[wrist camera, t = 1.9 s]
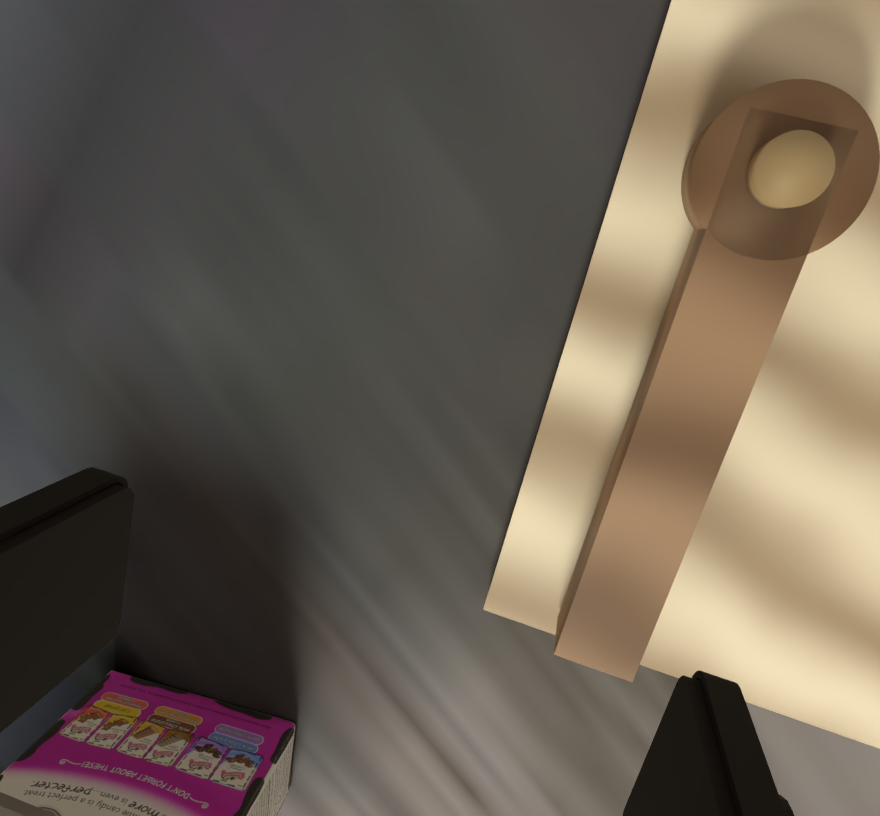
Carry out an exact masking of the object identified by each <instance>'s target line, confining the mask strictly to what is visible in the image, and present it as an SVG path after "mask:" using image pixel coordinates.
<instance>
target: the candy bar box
mask: <svg viewBox="0 0 880 816" xmlns="http://www.w3.org/2000/svg"><path fill="white" fill-rule="evenodd" d="M294 735H295V724H294V723H293V722H291V721H288V720H285V719H281V718H278V717H274V716H271V715H268V714H264V713H261V712H257V711H254V710H250V709H247V708H243V707H239V706H236V705H233V704H229V703H226V702H222V701H218V700H215V699H211V698H208V697H204V696H201V695H197V694H193V693H190V692H187V691H183V690H179V689H176V688H172V687H169V686H165V685H161V684H158V683H154V682H151V681H147V680H144V679H140V678H137V677H133V676H130V675H127V674H123V673H120V672H116V671H110V672H109V673H108V674H107V675H106V676H105V677H104V678H103V679H102V680H101V681H100V682H99V683H98V684H97V685H95V686H94V687H93V688H92V689H91V690H90V691H89V692H88V693H87V694H86V695H85V696H84V697H83V698H82V699H81V700H79V701H78V702H77V703H76V704H75V705H74V706H73V707H72V708H71V709H70V710H69V711H68V712H67V713H65V714H64V715H63V716H62V717H61V718H60V719H59V720H58V721H57V722H56V723H55V724H54V725H53V726H52V727H51V728H50V729H49V730H48V731H47V732H45V733H44V734H43V735H42V736H41V737H40V738H39V739H38V740H37V741H36V742H35V743H34V744H32V745H31V747H30V748H29V749H28V750H26V751H25V752H24V753H23V754H22V755H21V756H20V757H19V758H18V759H17V760H16V761H15V762H14V763H12V764H11V765H10V766H9V767H8V768H7V769H6V770H5V771H4V772H3V773H1V774H0V792H2V793H4V794H7V795H9V796H12V797H14V798H17V799H19V800H21V801H24V802H26V803H29V804H31V805H33V806H36V807H38V808H41V809H43V810H45V811H48V812H50V813H53V814H55V815H58V816H276V815H277V813H278V811H279V810H280V808H281V806H282V804H283V802H284V800H285V798H286V796H287V794H288V791H289V786H290V778H291V759H292V752H293V744H294Z"/></svg>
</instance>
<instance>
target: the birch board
mask: <svg viewBox="0 0 880 816" xmlns="http://www.w3.org/2000/svg"><path fill="white" fill-rule="evenodd" d="M789 79H809V80H816V81H821V82H824V83H828V84H831V85H833V86H835V87H837V88H839V89H841V90H843V91H844V92H846V93H847V94H849V95H851V96H852V97H853V98H854V99H855V100H856V101H857V102H858V103H859V104H860V105H861V106H862V107H863V109H864V110H865V111H866V112H867V114H868V116H869V118H870V119H871V121H872V123H873V125H874V128H875V131H876V133H877V138H878V142H879V151H880V0H671V3H670V6H669V9H668V13H667V16H666V19H665V22H664V26H663V29H662V32H661V35H660V39H659V42H658V45H657V48H656V51H655V55H654V58H653V61H652V64H651V68H650V71H649V74H648V77H647V81H646V84H645V87H644V90H643V94H642V97H641V100H640V103H639V106H638V110H637V113H636V116H635V119H634V123H633V126H632V129H631V132H630V136H629V139H628V142H627V145H626V149H625V152H624V155H623V158H622V161H621V165H620V168H619V171H618V174H617V178H616V181H615V184H614V187H613V191H612V194H611V197H610V200H609V204H608V207H607V210H606V213H605V216H604V220H603V223H602V226H601V229H600V233H599V236H598V239H597V242H596V246H595V249H594V252H593V255H592V259H591V262H590V265H589V268H588V271H587V275H586V278H585V281H584V284H583V288H582V291H581V294H580V297H579V301H578V304H577V307H576V310H575V314H574V317H573V320H572V323H571V326H570V330H569V333H568V336H567V339H566V343H565V346H564V349H563V352H562V356H561V359H560V362H559V365H558V369H557V372H556V375H555V378H554V381H553V385H552V388H551V391H550V394H549V398H548V401H547V404H546V407H545V411H544V414H543V417H542V420H541V424H540V427H539V430H538V433H537V436H536V440H535V443H534V446H533V449H532V453H531V456H530V459H529V462H528V466H527V469H526V472H525V475H524V478H523V482H522V485H521V488H520V491H519V495H518V498H517V501H516V504H515V508H514V511H513V514H512V517H511V521H510V524H509V527H508V530H507V533H506V537H505V540H504V543H503V546H502V550H501V553H500V556H499V559H498V563H497V566H496V569H495V572H494V576H493V579H492V582H491V585H490V588H489V592H488V595H487V599H486V602H485V605H484V609H483V610H486V611H489V612H491V613H494V614H497V615H500V616H503V617H506V618H509V619H511V620H514V621H517V622H520V623H523V624H526V625H529V626H531V627H534V628H537V629H540V630H543V631H546V632H549V633H551V634H554V635H556V627H557V617H558V615H559V612H560V609H561V606H562V603H563V600H564V598H565V595H566V592H567V589H568V586H569V583H570V581H571V578H572V575H573V572H574V569H575V566H576V564H577V561H578V558H579V555H580V552H581V549H582V547H583V544H584V541H585V538H586V535H587V532H588V530H589V527H590V524H591V521H592V518H593V515H594V513H595V510H596V507H597V504H598V501H599V498H600V495H601V493H602V490H603V487H604V484H605V481H606V478H607V476H608V473H609V470H610V467H611V464H612V461H613V459H614V456H615V453H616V450H617V447H618V444H619V442H620V439H621V436H622V433H623V430H624V427H625V425H626V422H627V419H628V416H629V413H630V410H631V408H632V405H633V402H634V399H635V396H636V393H637V391H638V388H639V385H640V382H641V379H642V376H643V374H644V371H645V368H646V365H647V362H648V359H649V356H650V354H651V351H652V348H653V345H654V342H655V339H656V337H657V334H658V331H659V328H660V325H661V322H662V320H663V317H664V314H665V311H666V308H667V305H668V303H669V300H670V297H671V294H672V291H673V288H674V286H675V283H676V280H677V277H678V274H679V271H680V269H681V266H682V263H683V260H684V257H685V254H686V252H687V249H688V246H689V243H690V240H691V237H692V235H693V232H694V229H693V227H692V225H691V224H690V222H689V220H688V218H687V216H686V213H685V210H684V207H683V203H682V196H681V180H682V173H683V169H684V165H685V162H686V159H687V157H688V154H689V152H690V150H691V148H692V146H693V145H694V143H695V141H696V140H697V138H698V137H699V136H700V134H701V133H702V132H703V131H704V130H705V128H706V127H707V126H708V125H709V124H710V123H711V122H712V121H713V120H714V119H715V118H716V117H718V116H719V115H720V114H721V113H722V112H723V111H724V110H725V109H726V108H727V107H728V106H730V105H731V104H732V103H733V102H734V101H736V100H737V99H739V98H740V97H742V96H743V95H745V94H747V93H748V92H750V91H752V90H754V89H756V88H759V87H761V86H764V85H766V84H769V83H773V82H777V81H782V80H789ZM640 665H643V666H645V667H648V668H651V669H654V670H657V671H660V672H663V673H665V674H668V675H671V676H674V677H677V678H680V677H681V676H683V675H684V676H687V677H690V678H692V676H693V674H694V673H695V672H696V671H699V670H700V671H703V672H706V673H709V674H712V675H715V676H718V677H721V678H724V679H727V680H730V681H733V682H735V683H737V684H738V685H739V687H740V688H741V691H742V694H743V697H744V699H745V702H748V703H751V704H754V705H757V706H760V707H762V708H765V709H768V710H771V711H774V712H777V713H780V714H782V715H785V716H788V717H791V718H794V719H797V720H800V721H802V722H805V723H808V724H811V725H814V726H817V727H820V728H822V729H825V730H828V731H831V732H834V733H837V734H839V735H842V736H845V737H848V738H851V739H854V740H857V741H859V742H862V743H865V744H868V745H871V746H874V747H877V748H879V749H880V162H879V172H878V176H877V181H876V184H875V187H874V190H873V193H872V195H871V197H870V199H869V201H868V203H867V205H866V206H865V208H864V209H863V211H862V212H861V214H860V216H859V217H858V218H857V219H856V220H855V222H854V223H853V224H852V225H851V226H850V227H849V228H848V229H847V230H846V231H845V232H844V233H843V234H842V235H840V236H839V237H838V238H836V239H835V240H834V241H832V242H831V243H829V244H828V245H826V246H824V247H823V248H821V249H819V250H817V251H814V252H812V253H810V254H808V255H807V257H806V260H805V262H804V264H803V267H802V269H801V272H800V274H799V277H798V279H797V282H796V284H795V286H794V289H793V291H792V294H791V296H790V299H789V301H788V303H787V306H786V308H785V311H784V313H783V316H782V318H781V321H780V323H779V325H778V328H777V330H776V333H775V335H774V338H773V340H772V343H771V345H770V347H769V350H768V352H767V355H766V357H765V360H764V362H763V365H762V367H761V369H760V372H759V374H758V377H757V379H756V382H755V384H754V386H753V389H752V391H751V394H750V396H749V399H748V401H747V404H746V406H745V408H744V411H743V413H742V416H741V418H740V421H739V423H738V426H737V428H736V430H735V433H734V435H733V438H732V440H731V443H730V445H729V448H728V450H727V452H726V455H725V457H724V460H723V462H722V465H721V467H720V469H719V472H718V474H717V477H716V479H715V482H714V484H713V487H712V489H711V491H710V494H709V496H708V499H707V501H706V504H705V506H704V509H703V511H702V513H701V516H700V518H699V521H698V523H697V526H696V528H695V531H694V533H693V535H692V538H691V540H690V543H689V545H688V548H687V550H686V552H685V555H684V557H683V560H682V562H681V565H680V567H679V570H678V572H677V574H676V577H675V579H674V582H673V584H672V587H671V589H670V592H669V594H668V596H667V599H666V601H665V604H664V606H663V609H662V611H661V613H660V616H659V618H658V621H657V623H656V626H655V628H654V631H653V633H652V635H651V638H650V640H649V643H648V645H647V648H646V650H645V653H644V655H643V657H642V660H641V662H640Z"/></svg>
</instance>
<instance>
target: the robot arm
mask: <svg viewBox="0 0 880 816" xmlns="http://www.w3.org/2000/svg"><path fill="white" fill-rule="evenodd" d="M133 501H134V494H133V491H132V490H131V489H130V488H128V484H127V481H126V479H124V478H123V477H121V476H118V475H115V474H112V473H109V472H106V471H103V470H100V469H97V468H92V467H91V468H87V469H84V470H82V471H80V472H78V473H76V474H73V475H71V476H69V477H67V478H64V479H62V480H60V481H58V482H56V483H53V484H51V485H49V486H47V487H44V488H42V489H40V490H38V491H36V492H33V493H31V494H29V495H27V496H24V497H22V498H20V499H18V500H16V501H13V502H11V503H9V504H7V505H4V506H2V507H0V733H1V732H2V731H3V730H4V729H5V728H7V727H8V726H9V725H10V724H11V723H13V722H14V721H15V720H16V719H17V718H19V717H20V716H21V715H22V714H23V713H24V712H26V711H27V710H28V709H29V708H30V707H32V706H33V705H34V704H35V703H36V702H38V701H39V700H40V699H41V698H42V697H44V696H45V695H46V694H47V693H48V692H50V691H51V690H52V689H53V688H54V687H56V686H57V685H58V684H59V683H60V682H62V681H63V680H64V679H65V678H66V677H68V676H69V675H70V674H71V673H72V672H73V671H75V670H76V669H77V668H78V667H79V666H81V665H82V664H83V663H84V662H85V661H87V660H88V659H89V658H90V657H91V656H93V655H94V654H95V653H96V652H97V651H99V650H100V649H101V648H102V647H103V646H105V645H106V644H107V643H108V642H109V641H110V640H111V639H112V637H113V636H114V634H115V632H116V631H117V628H118V626H119V622H120V616H121V607H122V599H123V590H124V581H125V572H126V563H127V554H128V545H129V536H130V527H131V519H132V510H133ZM0 816H58V815H55V814H53V813H50V812H48V811H45V810H43V809H41V808H38V807H36V806H33V805H31V804H29V803H26V802H24V801H21V800H19V799H17V798H14V797H12V796H9V795H7V794H4V793H2V792H0ZM623 816H794V814H793V811H792V809H791V807H790V805H789V803H788V801H787V800H786V799H784V798H783V797H782V796H781V795H778V792H777V789H776V786H775V784H774V781H773V778H772V775H771V772H770V769H769V767H768V764H767V761H766V758H765V755H764V753H763V750H762V747H761V744H760V741H759V739H758V736H757V733H756V730H755V727H754V725H753V722H752V719H751V716H750V713H749V711H748V708H747V705H746V702H745V699H744V697H743V694H742V691H741V688H740V687H739V685H738V684H737V683H735V682H733V681H730V680H727V679H724V678H721V677H718V676H715V675H712V674H709V673H706V672H703V671H700V670H699V671H696V672H695V673H694V674H693V676H692V678H690V677H687V676H684V675H683V676H681V677H680V678H679V680H678V682H677V684H676V686H675V689H674V691H673V693H672V696H671V698H670V701H669V703H668V705H667V708H666V710H665V713H664V715H663V717H662V720H661V722H660V725H659V727H658V729H657V732H656V734H655V737H654V739H653V741H652V744H651V746H650V749H649V751H648V753H647V756H646V758H645V761H644V763H643V765H642V768H641V770H640V773H639V775H638V777H637V780H636V782H635V785H634V787H633V789H632V792H631V794H630V797H629V799H628V801H627V804H626V806H625V809H624V812H623Z"/></svg>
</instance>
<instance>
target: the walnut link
mask: <svg viewBox="0 0 880 816" xmlns="http://www.w3.org/2000/svg"><path fill="white" fill-rule="evenodd" d="M879 162H880V151H879V142H878V138H877V133H876V131H875V128H874V125H873V123H872V121H871V119H870V118H869V116H868V114H867V112H866V111H865V110H864V109H863V107H862V106H861V105H860V104H859V103H858V102H857V101H856V100H855V99H854V98H853V97H852V96H851V95H849V94H847V93H846V92H844V91H843V90H841V89H839V88H837V87H835V86H833V85H831V84H828V83H824V82H821V81H816V80H809V79H789V80H782V81H777V82H773V83H769V84H766V85H764V86H761V87H759V88H756V89H754V90H752V91H750V92H748V93H747V94H745V95H743V96H742V97H740V98H739V99H737V100H736V101H734V102H733V103H732V104H731V105H730V106H728V107H727V108H726V109H725V110H724V111H723V112H722V113H721V114H720V115H719V116H718V117H716V118H715V119H714V120H713V121H712V122H711V123H710V124H709V125H708V126H707V127H706V128H705V130H704V131H703V132H702V133H701V134H700V136H699V137H698V138H697V140H696V141H695V143H694V145H693V146H692V148H691V150H690V152H689V154H688V157H687V159H686V162H685V165H684V169H683V173H682V180H681V196H682V203H683V207H684V210H685V213H686V216H687V218H688V220H689V222H690V224H691V225H692V227H693V229H694V232H693V235H692V237H691V240H690V243H689V246H688V249H687V252H686V254H685V257H684V260H683V263H682V266H681V269H680V271H679V274H678V277H677V280H676V283H675V286H674V288H673V291H672V294H671V297H670V300H669V303H668V305H667V308H666V311H665V314H664V317H663V320H662V322H661V325H660V328H659V331H658V334H657V337H656V339H655V342H654V345H653V348H652V351H651V354H650V356H649V359H648V362H647V365H646V368H645V371H644V374H643V376H642V379H641V382H640V385H639V388H638V391H637V393H636V396H635V399H634V402H633V405H632V408H631V410H630V413H629V416H628V419H627V422H626V425H625V427H624V430H623V433H622V436H621V439H620V442H619V444H618V447H617V450H616V453H615V456H614V459H613V461H612V464H611V467H610V470H609V473H608V476H607V478H606V481H605V484H604V487H603V490H602V493H601V495H600V498H599V501H598V504H597V507H596V510H595V513H594V515H593V518H592V521H591V524H590V527H589V530H588V532H587V535H586V538H585V541H584V544H583V547H582V549H581V552H580V555H579V558H578V561H577V564H576V566H575V569H574V572H573V575H572V578H571V581H570V583H569V586H568V589H567V592H566V595H565V598H564V600H563V603H562V606H561V609H560V612H559V615H558V617H557V627H556V638H555V649H554V655H557V656H560V657H562V658H565V659H568V660H571V661H574V662H576V663H579V664H582V665H585V666H588V667H591V668H593V669H596V670H599V671H602V672H605V673H607V674H610V675H613V676H616V677H619V678H622V679H624V680H627V681H630V682H633V679H634V677H635V675H636V672H637V670H638V667H639V665H640V662H641V660H642V657H643V655H644V653H645V650H646V648H647V645H648V643H649V640H650V638H651V635H652V633H653V631H654V628H655V626H656V623H657V621H658V618H659V616H660V613H661V611H662V609H663V606H664V604H665V601H666V599H667V596H668V594H669V592H670V589H671V587H672V584H673V582H674V579H675V577H676V574H677V572H678V570H679V567H680V565H681V562H682V560H683V557H684V555H685V552H686V550H687V548H688V545H689V543H690V540H691V538H692V535H693V533H694V531H695V528H696V526H697V523H698V521H699V518H700V516H701V513H702V511H703V509H704V506H705V504H706V501H707V499H708V496H709V494H710V491H711V489H712V487H713V484H714V482H715V479H716V477H717V474H718V472H719V469H720V467H721V465H722V462H723V460H724V457H725V455H726V452H727V450H728V448H729V445H730V443H731V440H732V438H733V435H734V433H735V430H736V428H737V426H738V423H739V421H740V418H741V416H742V413H743V411H744V408H745V406H746V404H747V401H748V399H749V396H750V394H751V391H752V389H753V386H754V384H755V382H756V379H757V377H758V374H759V372H760V369H761V367H762V365H763V362H764V360H765V357H766V355H767V352H768V350H769V347H770V345H771V343H772V340H773V338H774V335H775V333H776V330H777V328H778V325H779V323H780V321H781V318H782V316H783V313H784V311H785V308H786V306H787V303H788V301H789V299H790V296H791V294H792V291H793V289H794V286H795V284H796V282H797V279H798V277H799V274H800V272H801V269H802V267H803V264H804V262H805V260H806V257H807V255H808V254H810V253H812V252H814V251H817V250H819V249H821V248H823V247H824V246H826V245H828V244H829V243H831V242H832V241H834V240H835V239H836V238H838V237H839V236H840V235H842V234H843V233H844V232H845V231H846V230H847V229H848V228H849V227H850V226H851V225H852V224H853V223H854V222H855V220H856V219H857V218H858V217H859V216H860V214H861V212H862V211H863V209H864V208H865V206H866V205H867V203H868V201H869V199H870V197H871V195H872V193H873V190H874V187H875V184H876V181H877V176H878V172H879Z"/></svg>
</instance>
